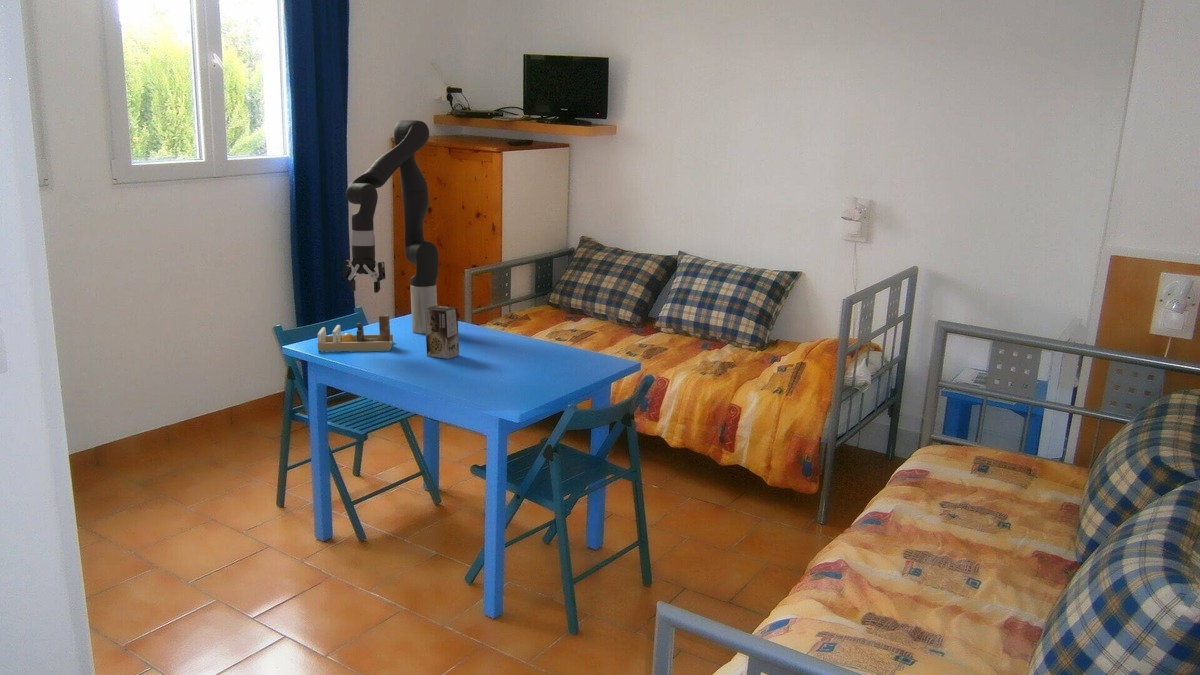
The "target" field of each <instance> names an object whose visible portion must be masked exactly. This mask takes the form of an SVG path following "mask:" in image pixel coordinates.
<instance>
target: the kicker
mask: <svg viewBox="0 0 1200 675" xmlns="http://www.w3.org/2000/svg"><path fill="white" fill-rule="evenodd" d="M355 326H356V328H357V330H356V332H355V333H356V335H357V342H376V341H390V334H391V328H390V327H391V326H390V313H379V315H378V326H379V334H380V338H373V339H364V335H365V334H364V324H363V323H362V322H357V323H356V325H355Z"/></svg>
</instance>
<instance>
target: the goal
mask: <svg viewBox="0 0 1200 675" xmlns="http://www.w3.org/2000/svg"><path fill="white" fill-rule="evenodd" d="M326 335H327V331H326V327H324V326H323V327H321V329H320V330H319V331H318V333H317V334H316V336H317V337H316V338H317V344H318V343H326ZM332 335H333V343H336V342H337V338H338V342H341V335H342V333H341V324H337V325H336V326H335V327H334V329H333V330H332ZM336 335H337V337H336Z"/></svg>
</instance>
